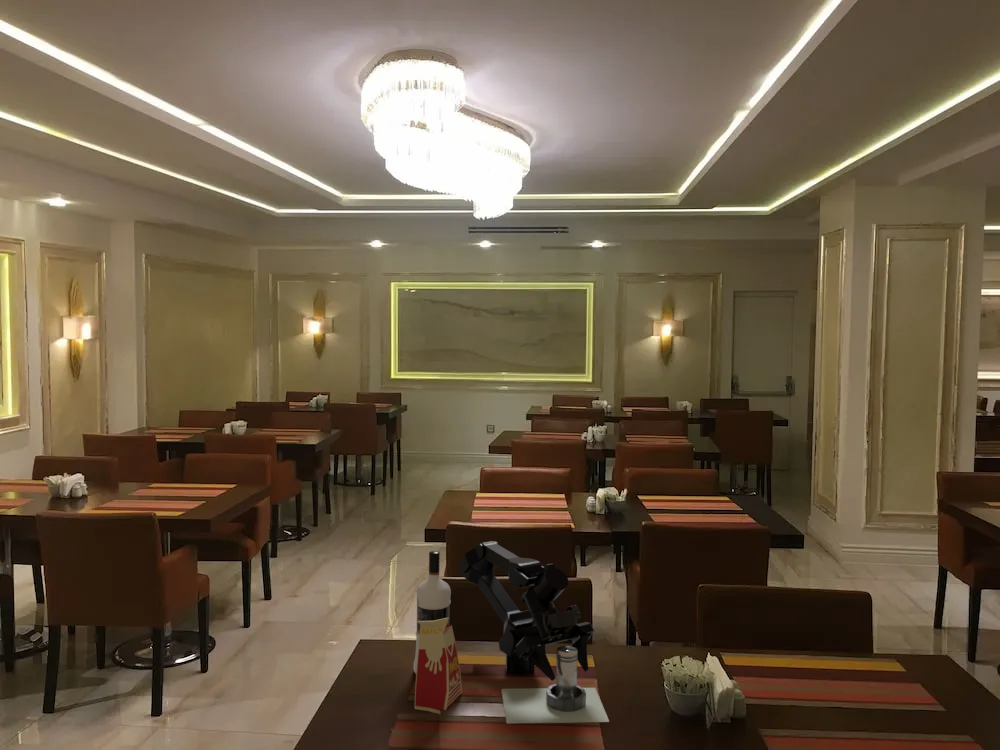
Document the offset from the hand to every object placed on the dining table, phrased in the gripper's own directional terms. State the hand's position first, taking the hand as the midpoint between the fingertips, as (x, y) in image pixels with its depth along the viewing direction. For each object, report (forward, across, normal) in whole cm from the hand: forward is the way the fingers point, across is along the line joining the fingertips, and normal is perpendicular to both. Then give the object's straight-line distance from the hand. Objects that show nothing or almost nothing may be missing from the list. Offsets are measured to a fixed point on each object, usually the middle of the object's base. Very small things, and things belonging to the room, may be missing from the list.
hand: (570, 675), depth 179 cm
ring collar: (+4, 0, +6) cm, 7 cm away
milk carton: (-7, -24, +18) cm, 31 cm away
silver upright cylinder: (+4, 0, +6) cm, 7 cm away
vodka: (-17, -18, +29) cm, 38 cm away
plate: (+4, -3, +7) cm, 9 cm away
